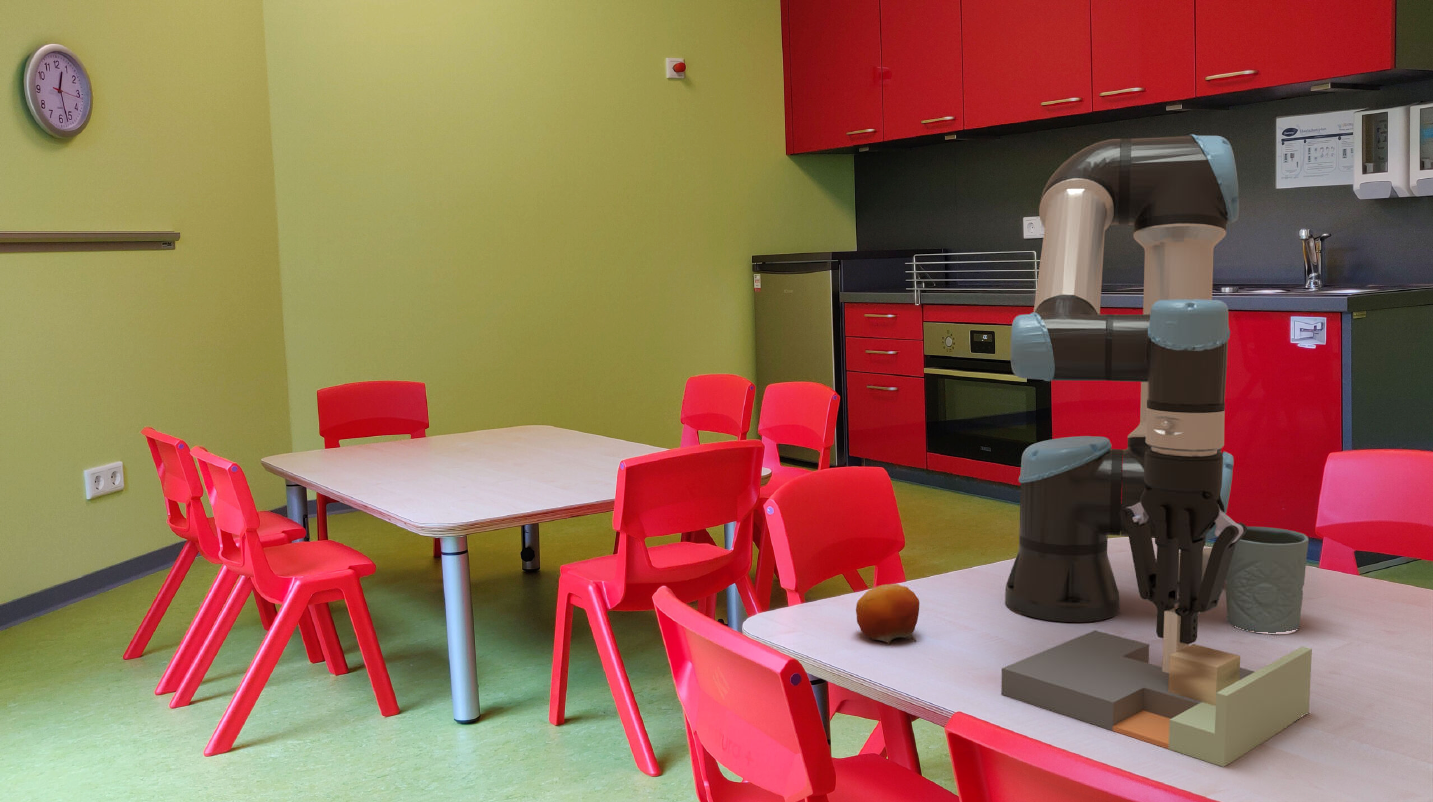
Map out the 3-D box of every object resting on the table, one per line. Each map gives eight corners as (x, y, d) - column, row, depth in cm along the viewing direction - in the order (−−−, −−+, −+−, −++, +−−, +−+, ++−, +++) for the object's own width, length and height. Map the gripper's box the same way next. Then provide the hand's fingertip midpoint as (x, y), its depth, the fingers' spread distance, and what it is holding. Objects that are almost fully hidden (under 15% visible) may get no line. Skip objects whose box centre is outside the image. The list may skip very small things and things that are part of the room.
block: (1168, 691, 119) (1169, 654, 119) (1192, 680, 123) (1193, 643, 122) (1215, 705, 116) (1217, 667, 115) (1238, 693, 119) (1240, 655, 118)
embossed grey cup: (1265, 640, 144) (1269, 547, 142) (1201, 618, 153) (1205, 530, 151) (1322, 629, 148) (1327, 538, 146) (1257, 608, 157) (1261, 522, 155)
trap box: (1001, 694, 127) (1002, 633, 127) (1094, 654, 140) (1095, 598, 139) (1223, 766, 109) (1226, 695, 108) (1308, 713, 121) (1311, 648, 120)
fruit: (889, 643, 140) (870, 581, 143) (858, 659, 147) (840, 599, 150) (942, 633, 144) (922, 572, 147) (909, 648, 150) (890, 590, 153)
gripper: (1106, 446, 121) (1100, 662, 124) (1228, 461, 111) (1218, 696, 114) (1144, 438, 126) (1136, 646, 129) (1263, 452, 116) (1253, 677, 119)
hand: (1175, 669), depth 121 cm, fingers closed
